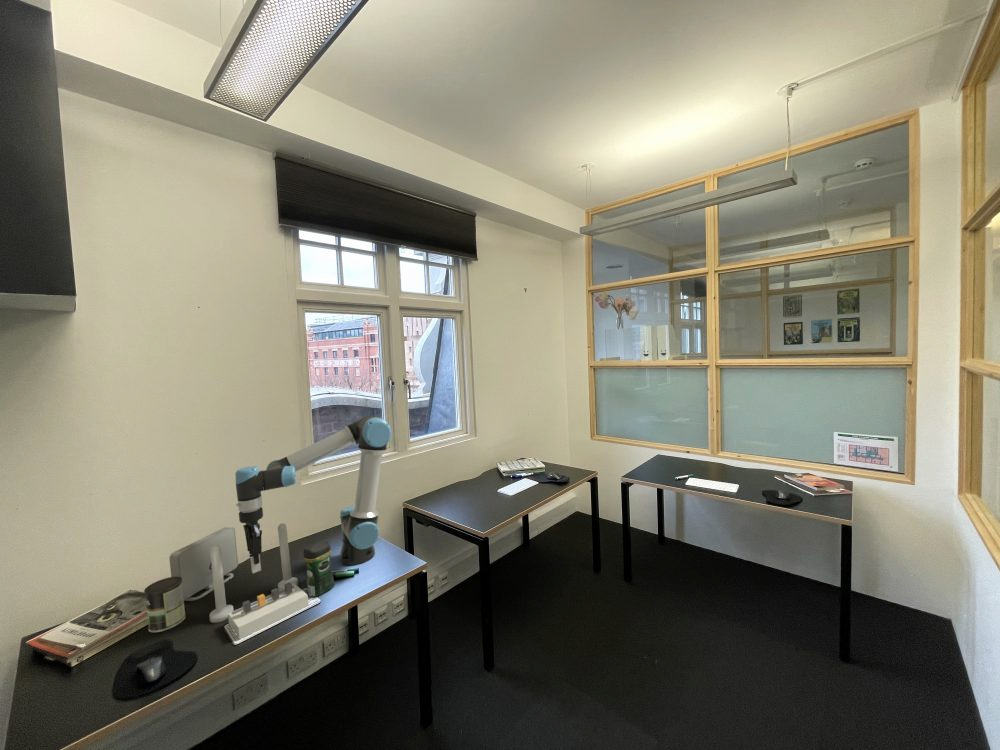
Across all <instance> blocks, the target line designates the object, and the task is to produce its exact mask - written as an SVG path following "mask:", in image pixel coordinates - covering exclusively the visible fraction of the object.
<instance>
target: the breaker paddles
mask: <svg viewBox="0 0 1000 750" xmlns="http://www.w3.org/2000/svg"><path fill="white" fill-rule="evenodd" d="M292 592H294V589H292V584H291V583H290V582H289V583H287V584H285V593H283V594H280V595H279V590H278V587H275V588H274V589H272V590H270V593H271V594H272V598H271V599H269V600H267V601H265V597H266V595H265V594H264V593H262V594H260V595H257V596H256V599H257V600H256V601H258V605H256V606H253V607H251V601H250V600H246V601H245V600H244V601H243V602H242V607H243V611H242V612H241V615H243V614H245V613H247V612H250V611H252V610H254V609H256V608H258V607H261V606H263V605H265V604H267V603H270V602H272V601H274V600H276V599H278V598H281V597H283V596H285V595H287V594H289V593H292ZM271 594H270V595H271Z"/></svg>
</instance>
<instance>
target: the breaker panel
mask: <svg viewBox="0 0 1000 750" xmlns="http://www.w3.org/2000/svg"><path fill="white" fill-rule="evenodd" d="M292 589H294V592H292V593H289V594H287V595H285V596H283V597H281V598H278V599H276V600H274V601H272V602H270V603H267V604H265V605H263V606H261V607H258V608H256V609H254V610H252V611H250V612H247V613H245V614H243V615H241V612H242V611H243V606H242V607H240V608H238V609H235V610H234V611H233V612H230V613H228V625H229V627H230V628H231V630H232V631H233V630H234V631H233V632H234V634H235V633H236V634H237V635H236V634H235V635H236V636H237V638H238V639H239V640H241V638H242V639H243V637H244V638H245V636H246V637H248V636H250V635H251V633H252V634H254V633H256V632H258V631H259V630H262V629H264V628H266V627H267V626H270V625H272V624H274V623H276V622H279V621H280V620H282V619H285V618H286V617H288V616H290V615H293V614H294V613H296V612H299V611H301V610H303V609H304V608H307V607H309V596H308V595H309V594H308V593H307V592H305V591H304V590H302V589H301V588H300V587H299V585H298V586H296V585H295V584H294V585H292ZM283 593H285V589H283V590H280V591H279V595H280V594H283ZM271 598H272V594H269V595H267V596H265V601H267V600H269V599H271ZM250 604H251V607H253V606H256V605H258V600H255V601H252V602H250ZM255 631H256V632H255ZM253 632H254V633H253ZM249 634H250V635H249ZM247 635H248V636H247Z"/></svg>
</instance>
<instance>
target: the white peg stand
mask: <svg viewBox="0 0 1000 750" xmlns="http://www.w3.org/2000/svg"><path fill="white" fill-rule="evenodd" d="M210 553H211V563H212V573H213V583H214V590H213V593H214V602H215V609H213V610H212V611H211V612H209V622H210V623H213V624H216V623H221V622H224V621H227V620H229V618H228V613H230V612H233V611H235V610H234V606H233V605H232V604H227V600H226V590H225V583H224V580H225V578H224V576H223V567H222V557H221V548H220V546H219V545H214V546H213V547H212V548H211V549H210Z"/></svg>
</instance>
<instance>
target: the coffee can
mask: <svg viewBox="0 0 1000 750" xmlns="http://www.w3.org/2000/svg"><path fill="white" fill-rule="evenodd" d="M143 592H144V597H145V608H146V614H147V615H146V616H147V617H146V618H147V624H148V625H147V626H148V627H147V628H148V629H147V630H148V632H150V633H153V634H154V633H161V632H165V631H167V630H170V629H173V628H174V627H176V626H178V625H180V624H181V623H182V622H184V620H185V619H186V611H185V601H184V598H183V588H182V578H181V577H171V576H169V577H165V578H162V579H159V580H157V581H155V582H152V583H151V584H149V585H148V586H147V587H145V589H144V590H143Z"/></svg>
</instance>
